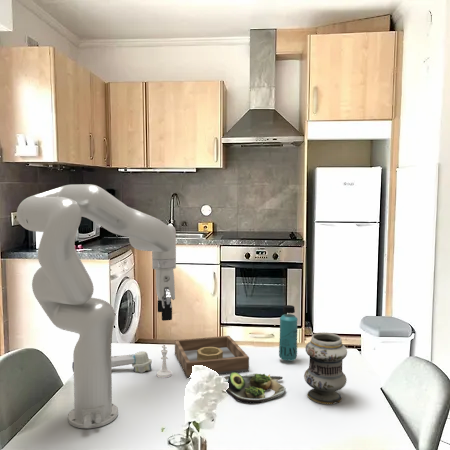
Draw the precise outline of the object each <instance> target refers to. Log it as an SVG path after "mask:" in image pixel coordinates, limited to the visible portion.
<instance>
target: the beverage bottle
mask: <svg viewBox="0 0 450 450" xmlns="http://www.w3.org/2000/svg"><path fill="white" fill-rule="evenodd" d="M295 310H296V308H295V306H294V305H290V304H286V305H283V308H282V312H283V313H284V314H282V315H281V316H280V317H279V343H278V344H279V345H278V346H279V347H278V356H279V358H280V359H281V360H283V361H294V360H296V359H297V357H298V333H299V332H298V317H297V316H296V315H295V314H294V313H295V312H296V311H295Z"/></svg>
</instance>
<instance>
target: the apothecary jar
mask: <svg viewBox="0 0 450 450" xmlns="http://www.w3.org/2000/svg"><path fill="white" fill-rule="evenodd" d="M305 352H306V354H307V355H308V356H309V364H308V368H307V369H306V370H305V372H304V375H303V377H304V381H305V383H306V384H307V385H308V386H309V387H311V389H310V390H309V391H308V392H307V397H308V398H309V399H310V400H311V401H312V402H314V403H317V404H321V405H334V404H336V403H338V404H339V403H340V402H341V401H342V400H343V397H342V395H341V394H340V392H338V391H340V390H342V389H343V388H344V387H345V386H346V384H347V377H346V374H345V373H344V371H343V360H344V359H345V358H346V357H347V356H348V349H347V347H346V345H344V344H343V340H342V337H341V336H340V335H338V334H335V333H331V332H316V333H313V334H312V335H311V340H309V342H307V344H306V345H305Z"/></svg>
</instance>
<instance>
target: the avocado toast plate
mask: <svg viewBox="0 0 450 450" xmlns="http://www.w3.org/2000/svg"><path fill="white" fill-rule="evenodd" d="M223 378H224V379H225V380H224V382H228V383H229V388H228V389H227V391H226V392H227V394H228V395H230V397H232V398H233V399H235V401H238V402H240V403H244V404H258V403H259V404H260V403H263V402H267V401H270V400H272V399H276V398H277V397H280V396H282V395H283V394H284V393H285V392H286V388H285V386H284V385H283V384H281V383H279V382H278V381H281V380H282V379H283V376H281V375H280V376H278V375H277V376H275V375H271V374H268V375H267V374H265V373H251V374H246V375H241V373H235V372H233V373H231V374H229V375H226V376H224V377H223ZM269 390H271V391H273V392H274V393H273V394H272V395H270V396H268V397H266V394H265V392H266V391H269Z"/></svg>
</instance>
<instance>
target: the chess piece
mask: <svg viewBox="0 0 450 450" xmlns="http://www.w3.org/2000/svg"><path fill="white" fill-rule="evenodd" d="M161 348H162V349H161V355H162V356H161V357H160V359H161V360H162V365H161V369H160V370H158V371H157V372H156V376H157V377H158V378H161V379H162V378H163V379H165V378H170V377H171V376H172V375H173V371H171V370H169V369H168V367H167V366H168V365H167V360H168V359H169V358H168V356H167V353H168V350H167V346H166V344H163V345H162V346H161Z"/></svg>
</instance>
